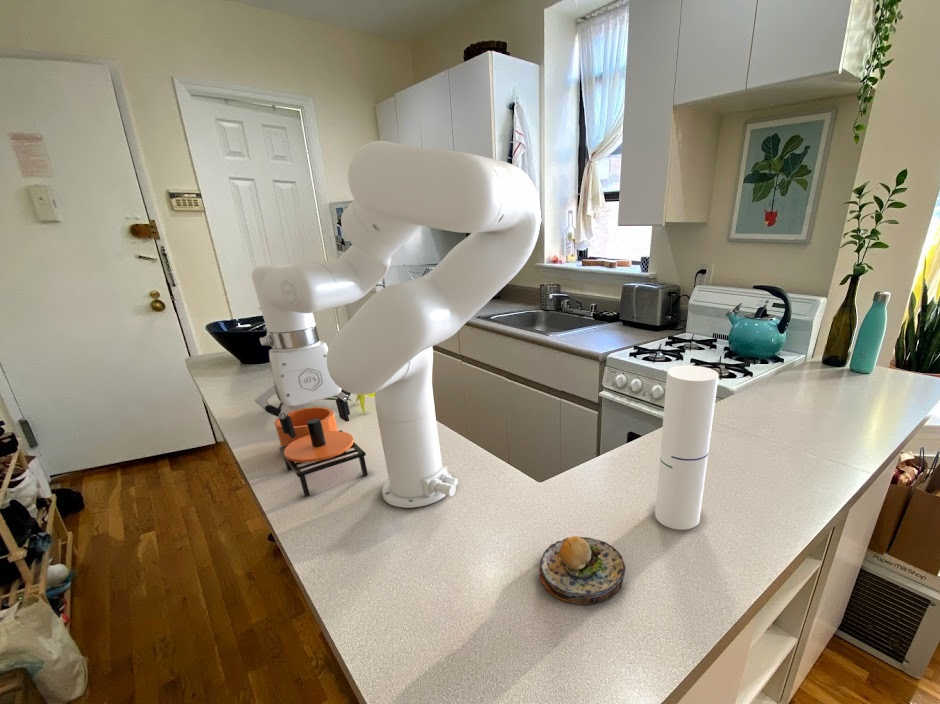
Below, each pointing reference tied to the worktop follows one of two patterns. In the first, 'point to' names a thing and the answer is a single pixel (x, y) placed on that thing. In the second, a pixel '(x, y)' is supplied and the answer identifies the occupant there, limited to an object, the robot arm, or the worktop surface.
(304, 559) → the worktop surface
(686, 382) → the cylindrical container
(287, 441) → the pot
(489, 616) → the worktop surface
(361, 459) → the rack
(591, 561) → the burger
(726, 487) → the worktop surface
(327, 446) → the lid
